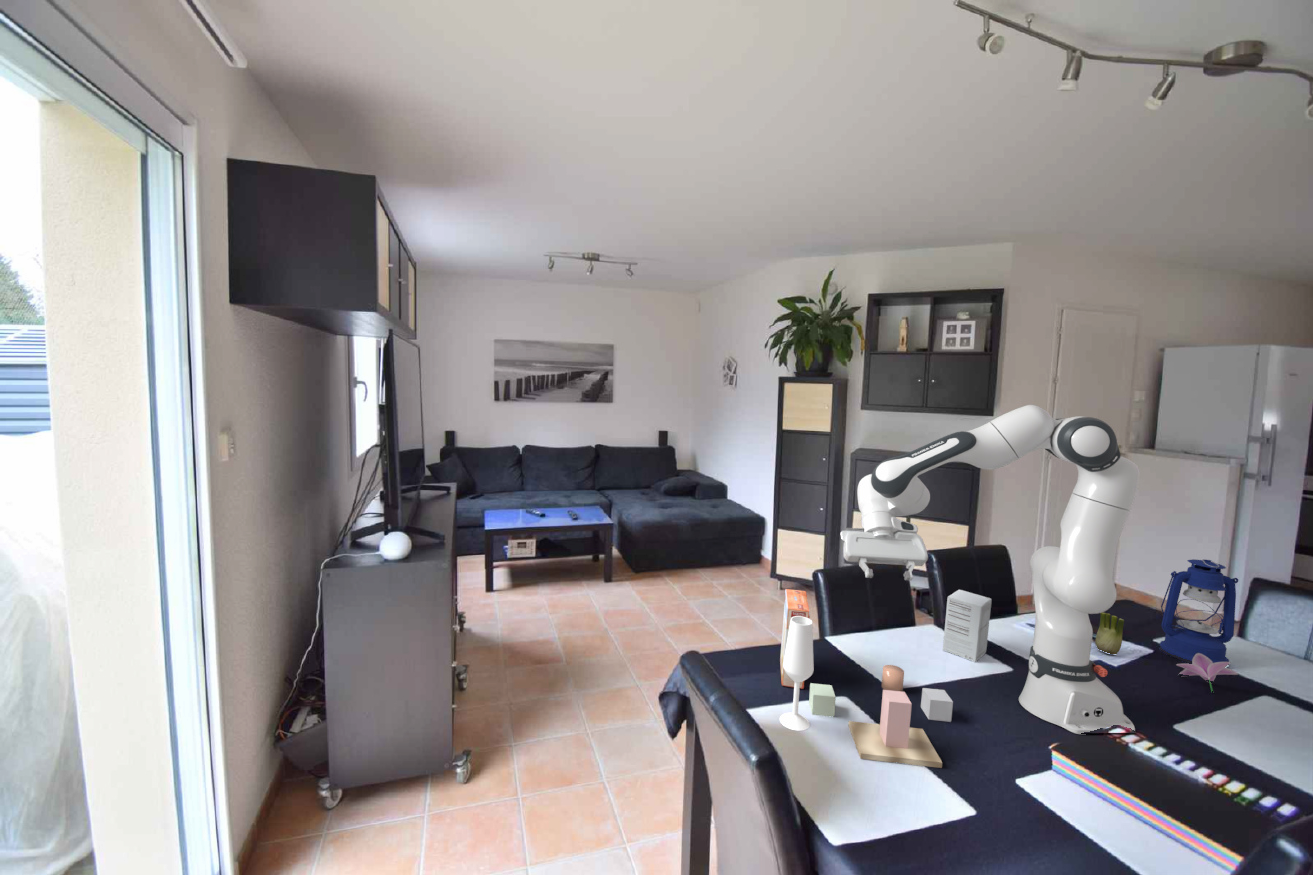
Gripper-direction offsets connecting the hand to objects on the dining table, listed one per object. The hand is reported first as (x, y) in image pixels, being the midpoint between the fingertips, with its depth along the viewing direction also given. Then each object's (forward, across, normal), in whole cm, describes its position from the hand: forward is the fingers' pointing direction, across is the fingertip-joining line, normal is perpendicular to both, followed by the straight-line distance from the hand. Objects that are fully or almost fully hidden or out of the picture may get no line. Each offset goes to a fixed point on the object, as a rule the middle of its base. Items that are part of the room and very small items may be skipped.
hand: (889, 578), depth 136 cm
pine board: (+36, -4, +5) cm, 37 cm away
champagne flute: (+33, -24, +9) cm, 42 cm away
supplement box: (+2, +32, +40) cm, 51 cm away
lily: (+9, +90, +34) cm, 96 cm away
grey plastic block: (+27, +10, +15) cm, 33 cm away
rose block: (+36, -4, +4) cm, 36 cm away
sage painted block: (+29, -17, +13) cm, 36 cm away
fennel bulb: (-2, +76, +46) cm, 88 cm away
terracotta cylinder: (+20, +3, +22) cm, 30 cm away
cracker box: (+18, -22, +24) cm, 37 cm away
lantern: (-4, +102, +48) cm, 112 cm away
